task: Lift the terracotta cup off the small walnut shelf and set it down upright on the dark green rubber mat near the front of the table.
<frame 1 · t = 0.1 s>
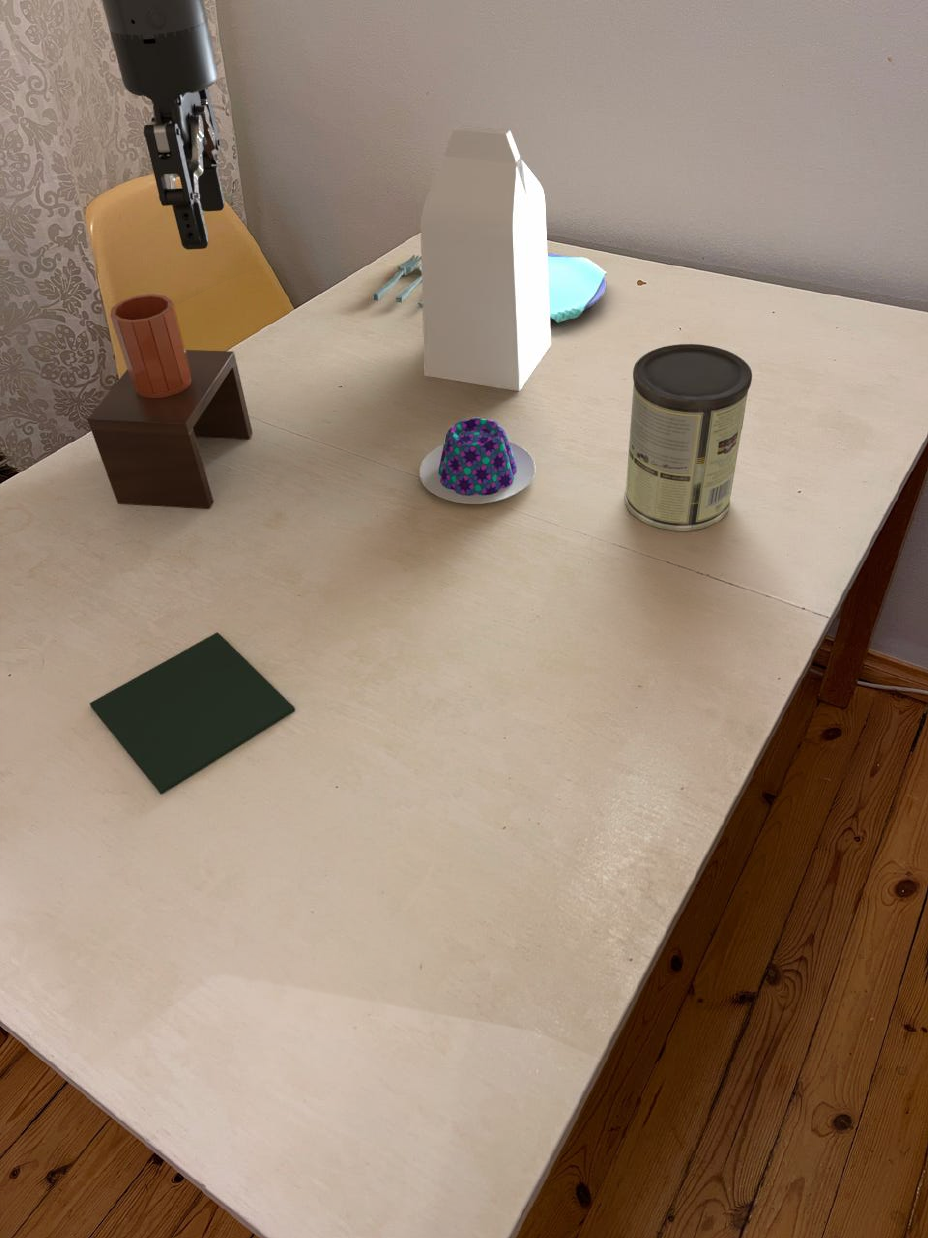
hand: (205, 227, 86), 25 cm above the table, tool pointing down, fingers open, 8 cm apart
pudding: (477, 476, 100), on the table
mat: (192, 708, 78), on the table
cutlery set: (495, 294, 130), on the table
shelf: (188, 467, 103), on the table
cup: (163, 383, 96), point 10 cm above the table, touching shelf
coffee can: (675, 501, 95), on the table
milk: (488, 361, 117), on the table
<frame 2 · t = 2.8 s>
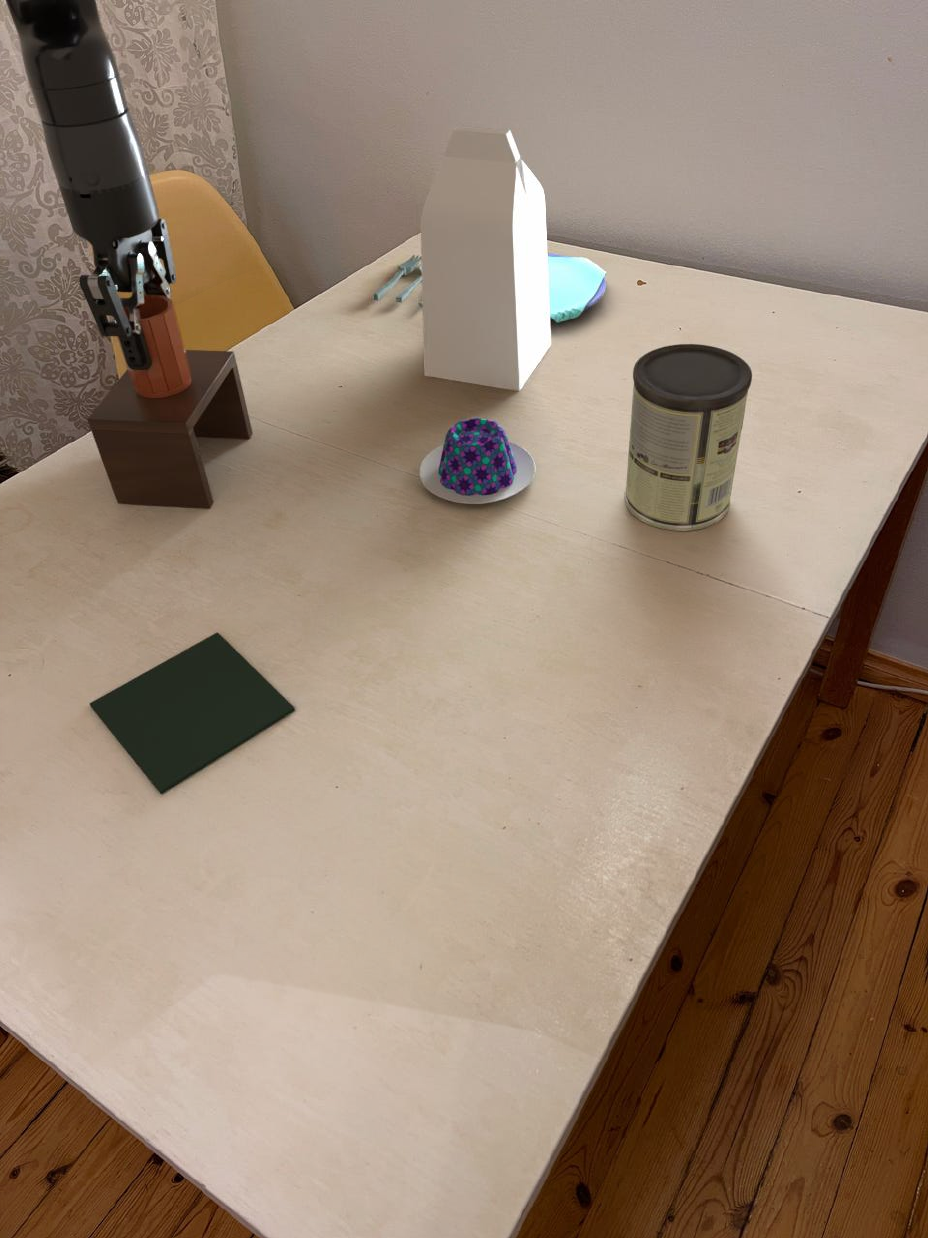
hand: (154, 350, 94), 14 cm above the table, tool pointing down, fingers closed on cup, 6 cm apart
cup: (163, 383, 96), point 10 cm above the table, touching gripper, shelf
everything else where it was.
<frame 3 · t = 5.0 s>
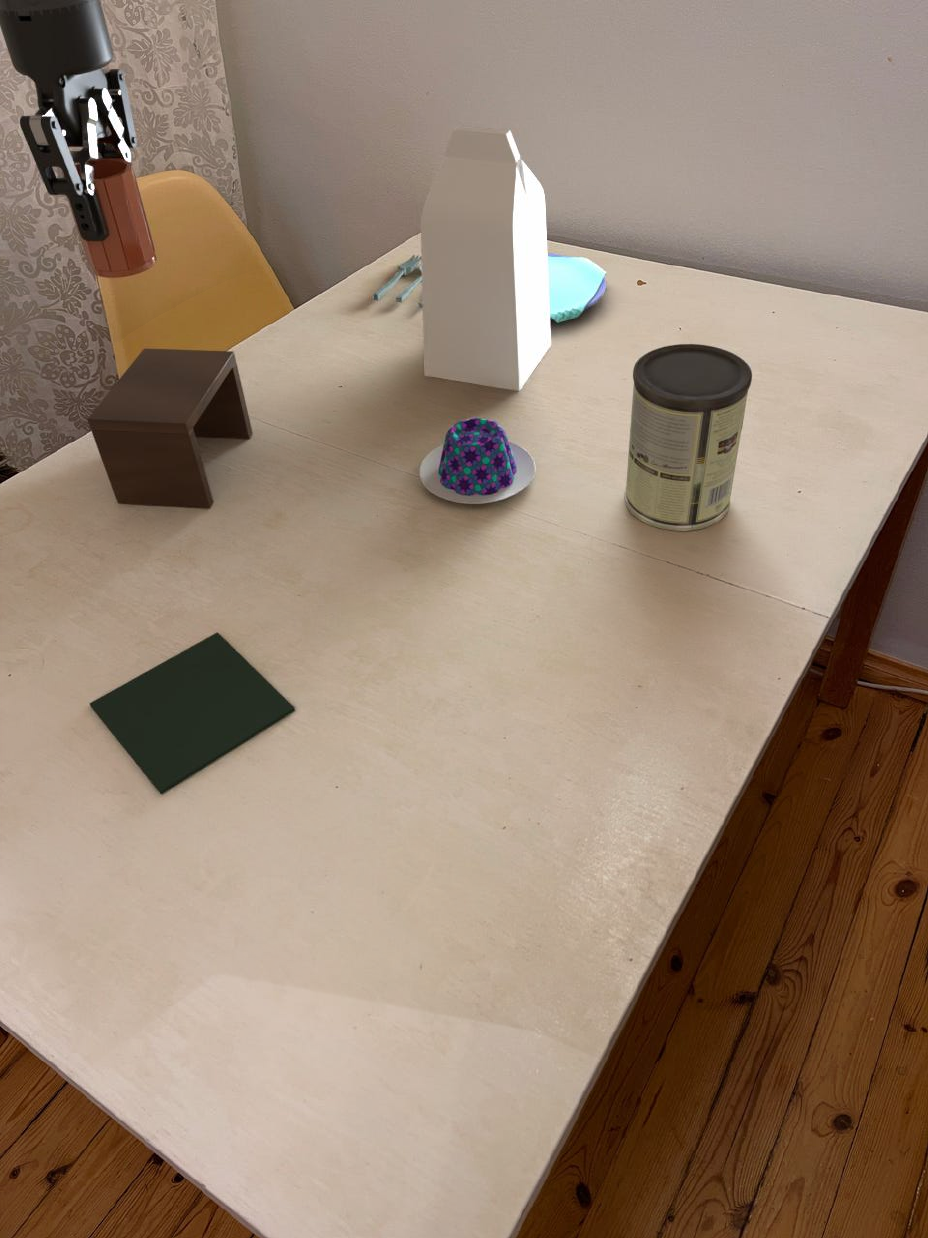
hand: (111, 223, 83), 27 cm above the table, tool pointing down, fingers closed on cup, 6 cm apart
cup: (123, 264, 85), point 23 cm above the table, touching gripper
everything else where it was.
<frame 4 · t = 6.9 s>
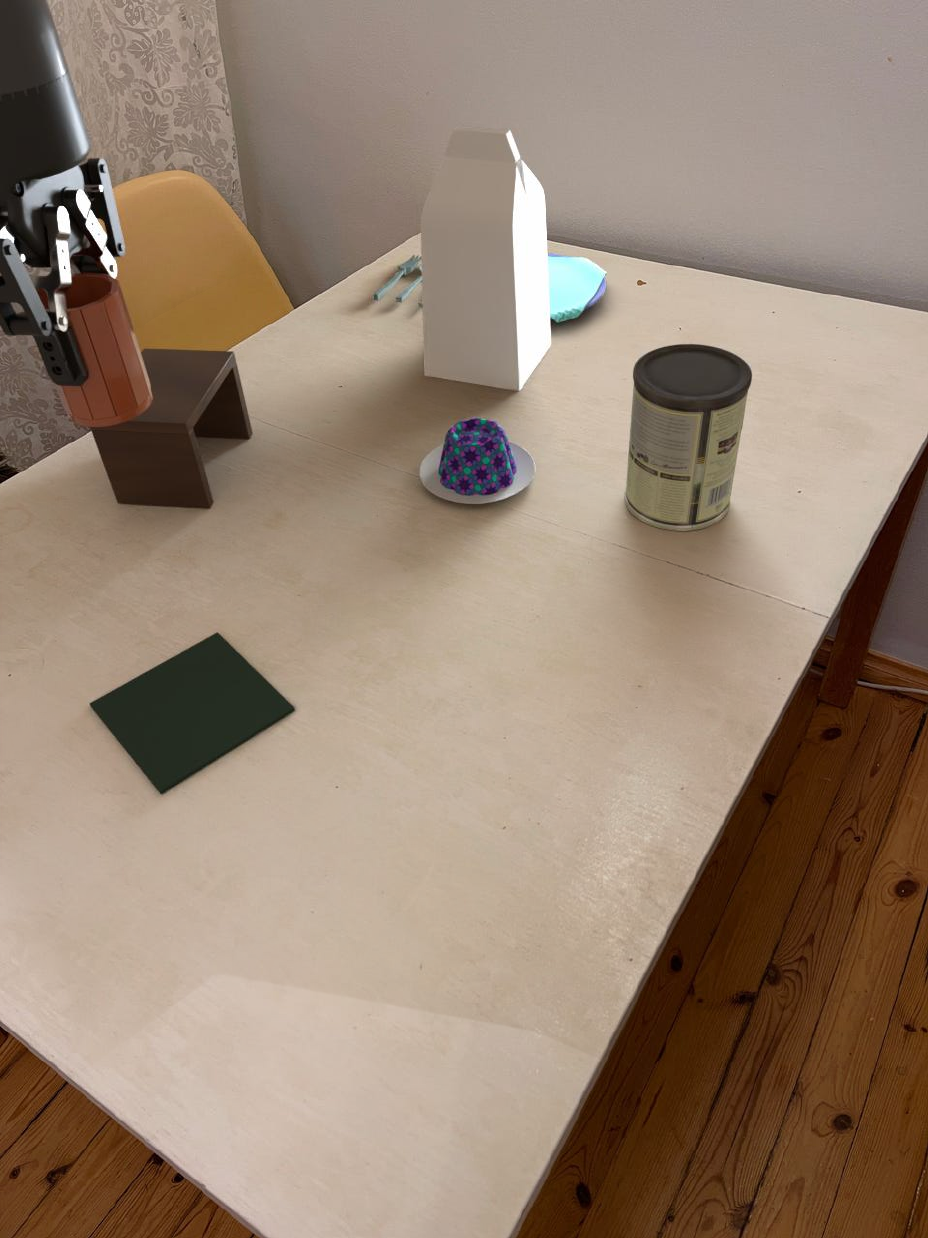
hand: (93, 356, 63), 28 cm above the table, tool pointing down, fingers closed on cup, 6 cm apart
cup: (110, 404, 66), point 24 cm above the table, touching gripper
everything else where it was.
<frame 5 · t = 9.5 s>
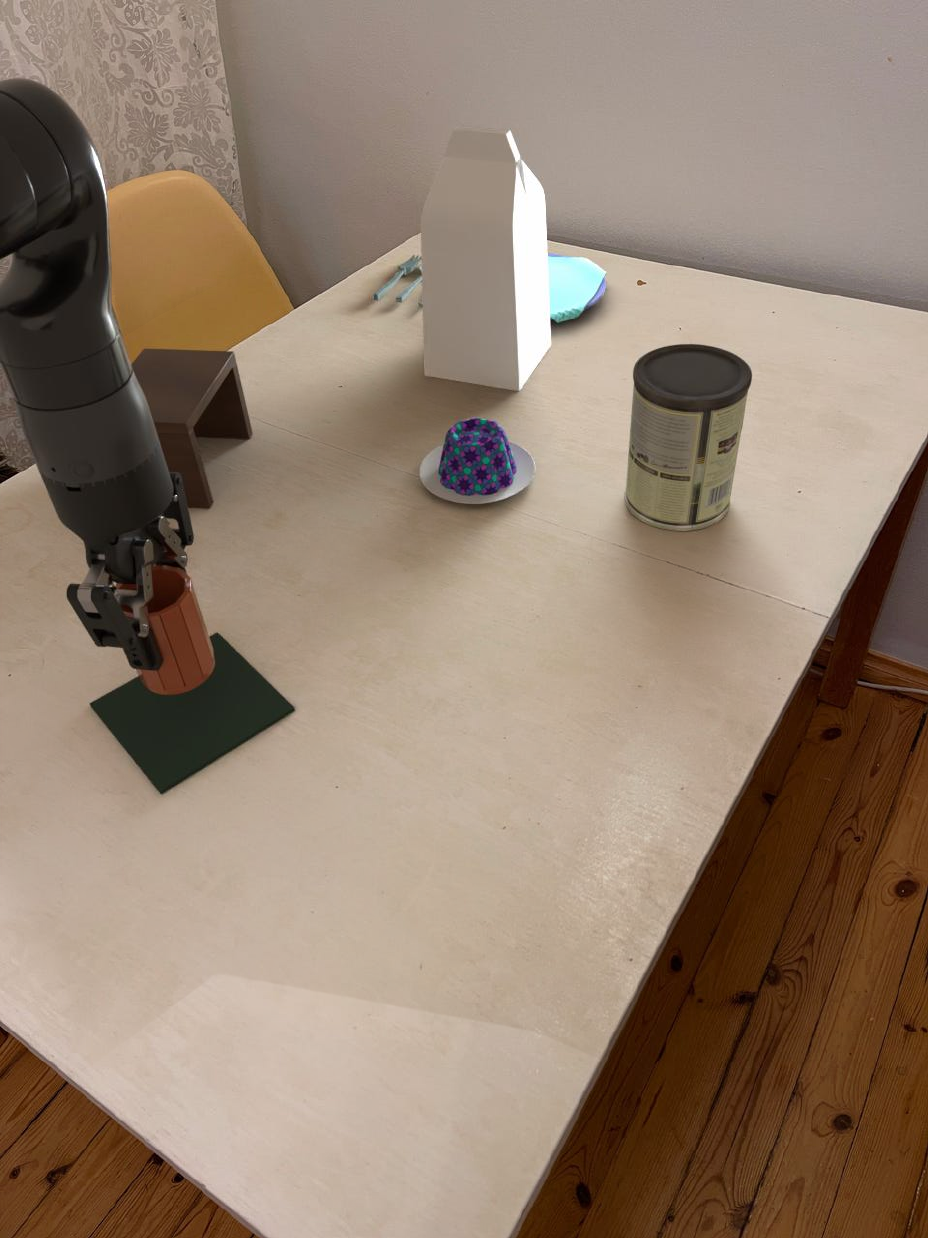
hand: (165, 635, 72), 8 cm above the table, tool pointing down, fingers closed on cup, 6 cm apart
cup: (178, 667, 75), point 5 cm above the table, touching gripper
everything else where it was.
when the fingers open (4 cm above the table, at t = 11.3 s): cup stays where it is, resting on mat.
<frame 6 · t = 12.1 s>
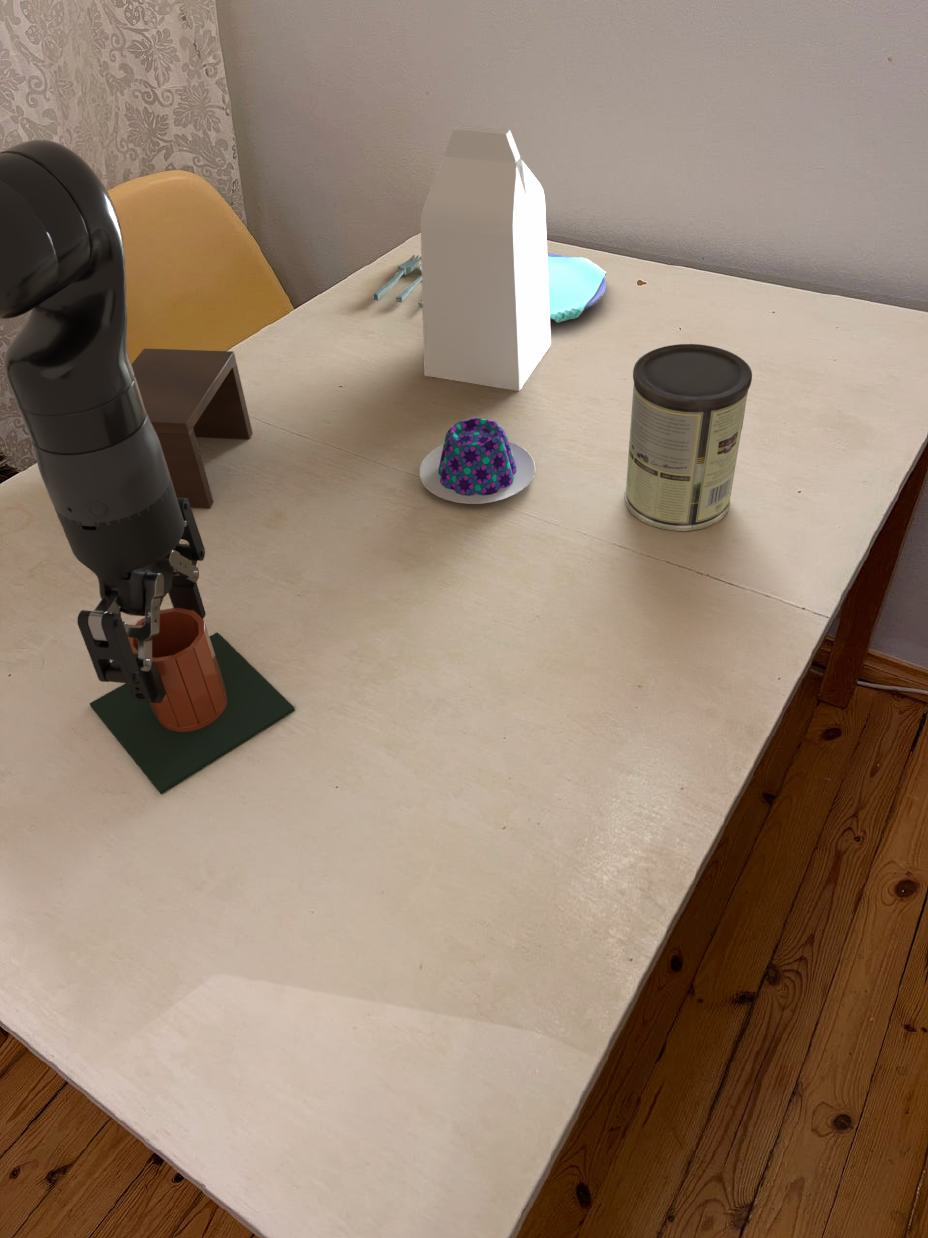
hand: (172, 657, 74), 6 cm above the table, tool pointing down, fingers open, 8 cm apart
cup: (191, 705, 78), resting on mat
everything else where it was.
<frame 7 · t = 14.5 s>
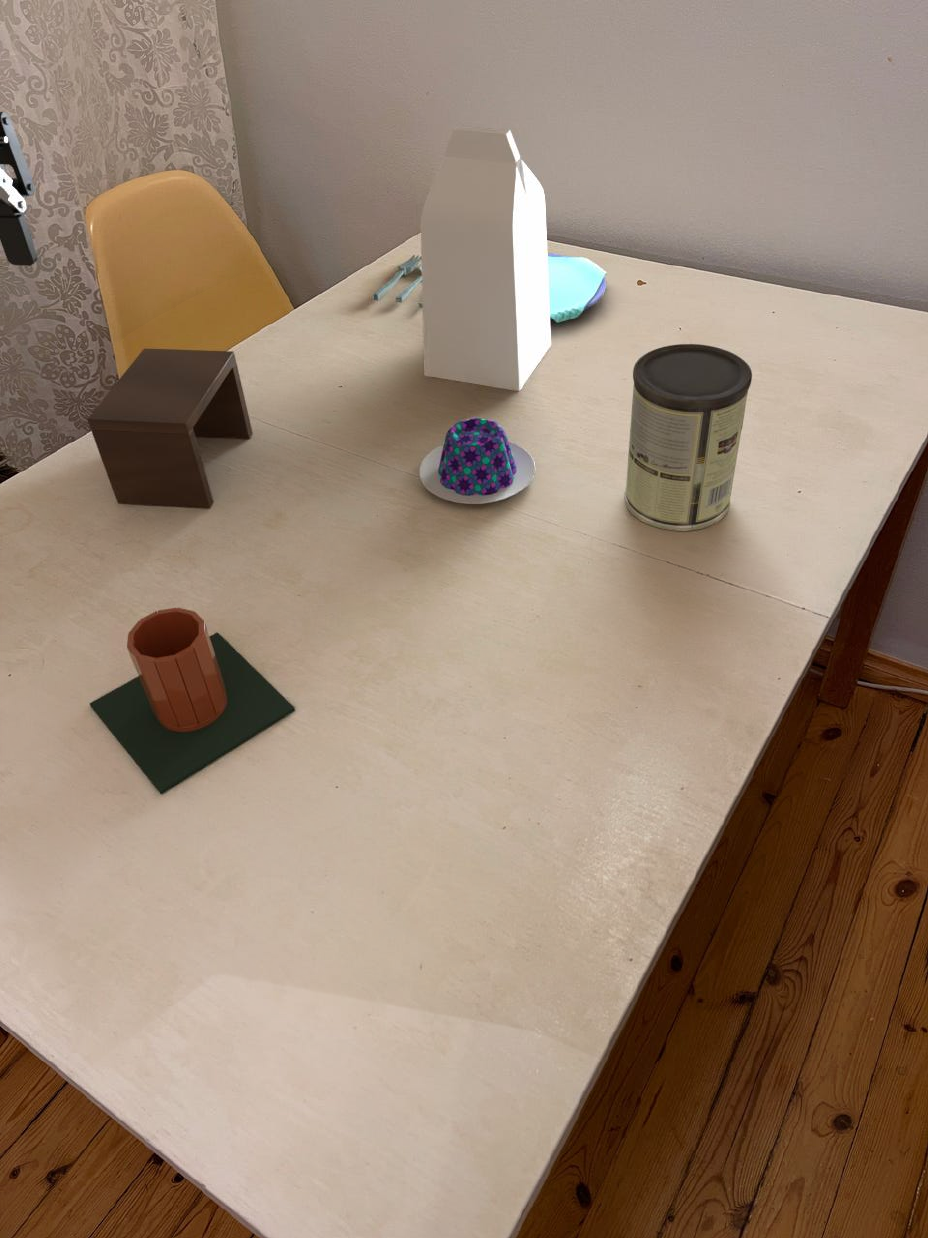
nothing on the table moved.
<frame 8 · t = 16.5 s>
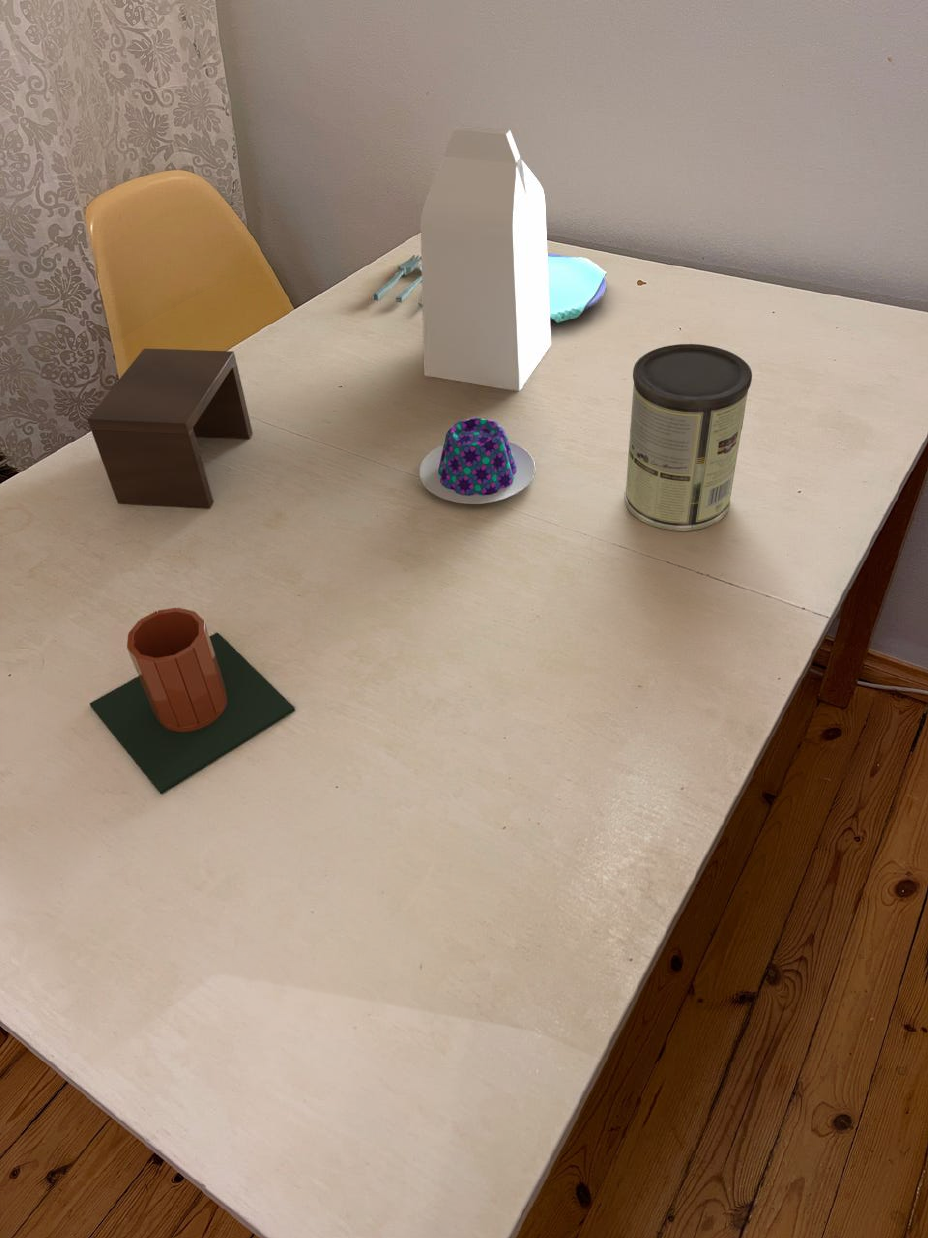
nothing on the table moved.
at the end: cup inside the target area on the mat (0.1 cm from its centre), point 0.4 cm above the mat's base; cup tilted 0°; cup touching mat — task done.
